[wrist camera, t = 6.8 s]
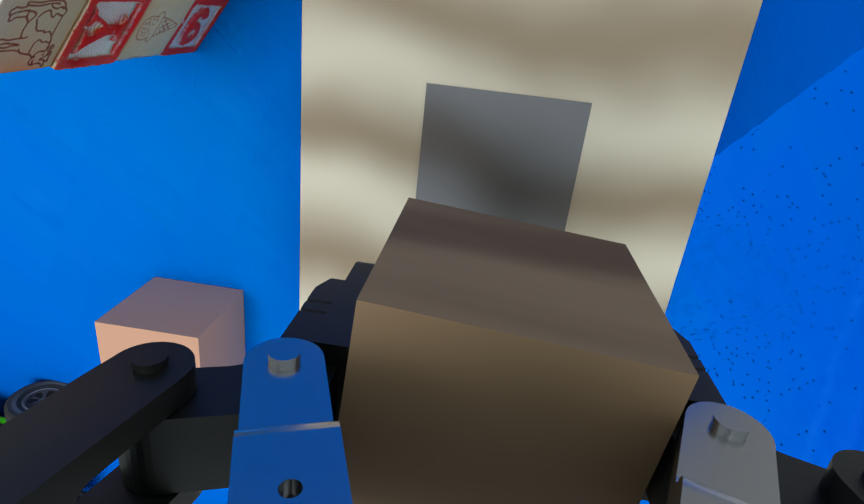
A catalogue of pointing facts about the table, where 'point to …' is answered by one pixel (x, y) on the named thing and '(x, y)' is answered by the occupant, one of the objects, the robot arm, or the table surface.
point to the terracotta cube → (178, 321)
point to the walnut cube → (506, 367)
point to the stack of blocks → (99, 30)
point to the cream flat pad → (514, 119)
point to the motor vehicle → (30, 400)
